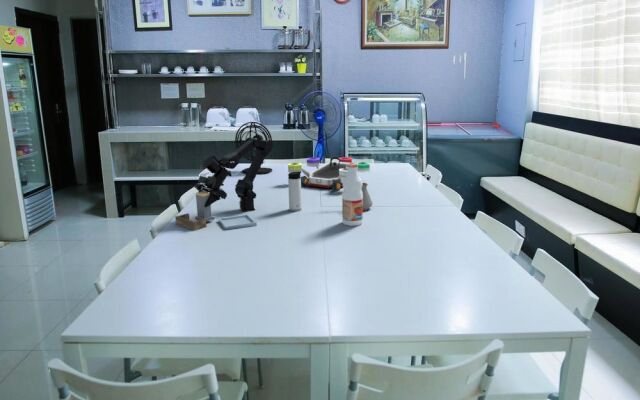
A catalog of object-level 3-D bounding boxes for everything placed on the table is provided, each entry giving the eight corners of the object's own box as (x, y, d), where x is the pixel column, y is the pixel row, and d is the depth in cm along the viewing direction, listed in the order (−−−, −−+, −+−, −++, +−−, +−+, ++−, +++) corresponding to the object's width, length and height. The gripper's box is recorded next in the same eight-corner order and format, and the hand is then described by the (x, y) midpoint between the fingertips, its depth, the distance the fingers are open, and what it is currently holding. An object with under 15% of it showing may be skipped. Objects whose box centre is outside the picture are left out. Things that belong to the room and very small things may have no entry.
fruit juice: (345, 219, 246) (345, 161, 239) (364, 220, 243) (364, 162, 236) (340, 225, 237) (339, 165, 230) (360, 226, 235) (360, 166, 227)
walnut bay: (188, 221, 248) (187, 213, 247) (206, 226, 239) (205, 218, 238) (176, 224, 243) (175, 216, 242) (193, 230, 234) (193, 222, 233)
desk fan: (233, 173, 352) (229, 122, 343) (243, 168, 369) (240, 119, 360) (270, 175, 345) (267, 123, 336) (279, 170, 361) (277, 120, 352)
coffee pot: (373, 205, 268) (373, 177, 265) (371, 212, 258) (371, 182, 254) (333, 204, 273) (332, 176, 269) (329, 210, 262) (328, 181, 258)
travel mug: (300, 211, 260) (299, 173, 255) (287, 211, 261) (286, 172, 256) (303, 208, 266) (302, 170, 261) (291, 208, 267) (289, 170, 262)
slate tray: (247, 217, 252) (247, 214, 252) (256, 225, 239) (256, 222, 239) (218, 221, 246) (218, 218, 246) (225, 230, 234) (225, 226, 233)
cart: (379, 180, 325) (380, 155, 321) (349, 194, 294) (349, 166, 289) (319, 173, 349) (318, 150, 344) (285, 185, 317) (284, 159, 313)
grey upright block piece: (205, 216, 250) (203, 190, 247) (214, 219, 246) (212, 193, 243) (195, 219, 246) (193, 193, 243) (204, 222, 242) (202, 195, 238)
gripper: (195, 166, 249) (178, 193, 244) (220, 171, 237) (202, 199, 232) (210, 179, 256) (193, 206, 251) (234, 184, 244) (217, 212, 239)
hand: (201, 205), depth 243 cm, fingers closed on grey upright block piece, 5 cm apart
